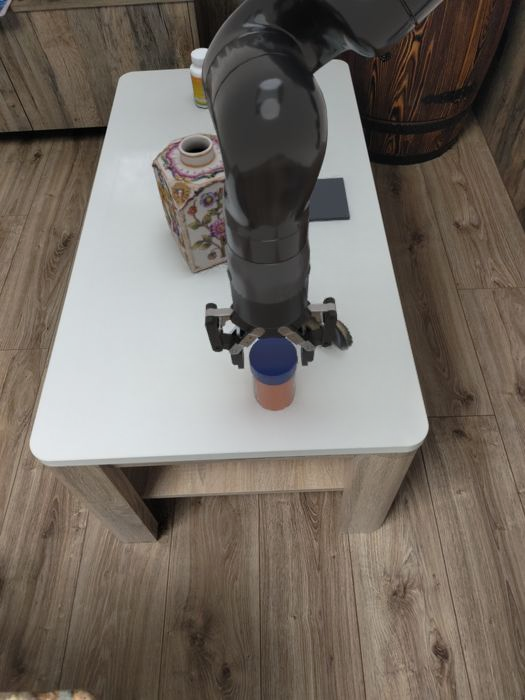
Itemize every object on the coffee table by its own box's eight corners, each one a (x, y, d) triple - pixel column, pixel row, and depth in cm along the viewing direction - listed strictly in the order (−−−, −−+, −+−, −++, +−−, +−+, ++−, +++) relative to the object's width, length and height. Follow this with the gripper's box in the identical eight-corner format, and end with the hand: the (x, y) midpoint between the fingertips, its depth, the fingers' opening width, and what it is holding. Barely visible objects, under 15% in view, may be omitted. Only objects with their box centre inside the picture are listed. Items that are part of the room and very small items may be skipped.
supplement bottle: (213, 111, 102) (206, 62, 94) (190, 105, 104) (182, 57, 95) (225, 97, 105) (219, 48, 97) (202, 91, 106) (195, 43, 98)
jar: (293, 374, 68) (294, 337, 61) (296, 409, 65) (297, 376, 58) (254, 375, 68) (250, 339, 61) (255, 411, 66) (250, 378, 58)
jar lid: (296, 344, 62) (296, 334, 60) (299, 384, 59) (299, 375, 57) (249, 346, 62) (248, 336, 61) (250, 387, 59) (249, 377, 57)
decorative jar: (191, 276, 79) (169, 182, 63) (167, 229, 84) (141, 133, 69) (260, 250, 81) (254, 154, 66) (232, 206, 87) (220, 108, 72)
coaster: (342, 180, 89) (343, 177, 89) (349, 219, 84) (350, 216, 83) (286, 183, 89) (286, 180, 89) (290, 222, 84) (290, 219, 84)
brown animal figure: (281, 356, 69) (346, 363, 66) (279, 307, 66) (347, 311, 63) (296, 336, 75) (356, 341, 72) (295, 290, 72) (357, 294, 69)
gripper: (341, 236, 48) (328, 332, 62) (193, 243, 48) (214, 337, 62) (351, 297, 44) (335, 386, 58) (189, 305, 44) (212, 391, 58)
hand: (272, 360), depth 60 cm, fingers open, 7 cm apart
